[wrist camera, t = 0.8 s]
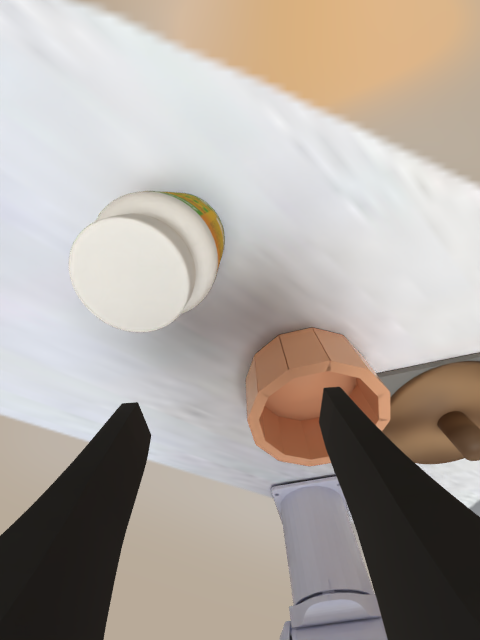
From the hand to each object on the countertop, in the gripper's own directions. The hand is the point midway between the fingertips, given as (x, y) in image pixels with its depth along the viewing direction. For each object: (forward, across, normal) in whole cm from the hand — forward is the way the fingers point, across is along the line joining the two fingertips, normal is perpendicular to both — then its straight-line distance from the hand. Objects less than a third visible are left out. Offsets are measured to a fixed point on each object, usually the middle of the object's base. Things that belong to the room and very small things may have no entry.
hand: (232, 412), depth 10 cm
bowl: (+10, -6, +8) cm, 14 cm away
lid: (+8, -19, +13) cm, 24 cm away
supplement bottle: (+11, +3, -4) cm, 12 cm away
